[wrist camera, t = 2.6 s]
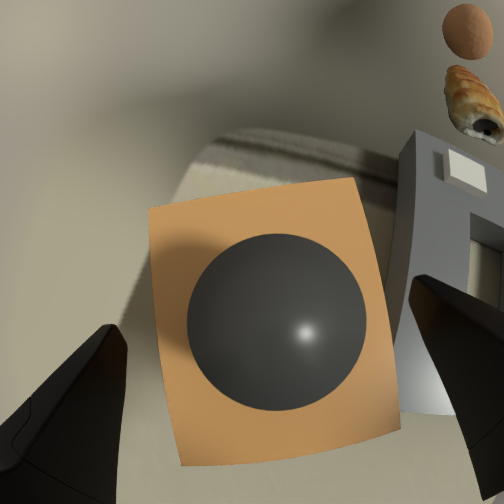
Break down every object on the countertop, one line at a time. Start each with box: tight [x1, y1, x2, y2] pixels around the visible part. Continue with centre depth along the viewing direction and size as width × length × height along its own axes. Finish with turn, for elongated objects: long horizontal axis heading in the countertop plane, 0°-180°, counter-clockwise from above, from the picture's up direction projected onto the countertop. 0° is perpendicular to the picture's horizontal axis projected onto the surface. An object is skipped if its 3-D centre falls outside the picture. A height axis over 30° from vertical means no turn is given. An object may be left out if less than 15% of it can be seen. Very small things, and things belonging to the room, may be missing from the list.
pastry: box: [444, 65, 504, 146], centre depth 18 cm, size 9×7×4 cm
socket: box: [384, 129, 504, 415], centre depth 13 cm, size 16×14×4 cm
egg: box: [442, 4, 493, 60], centre depth 18 cm, size 6×6×8 cm
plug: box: [149, 177, 401, 466], centre depth 9 cm, size 4×4×13 cm
